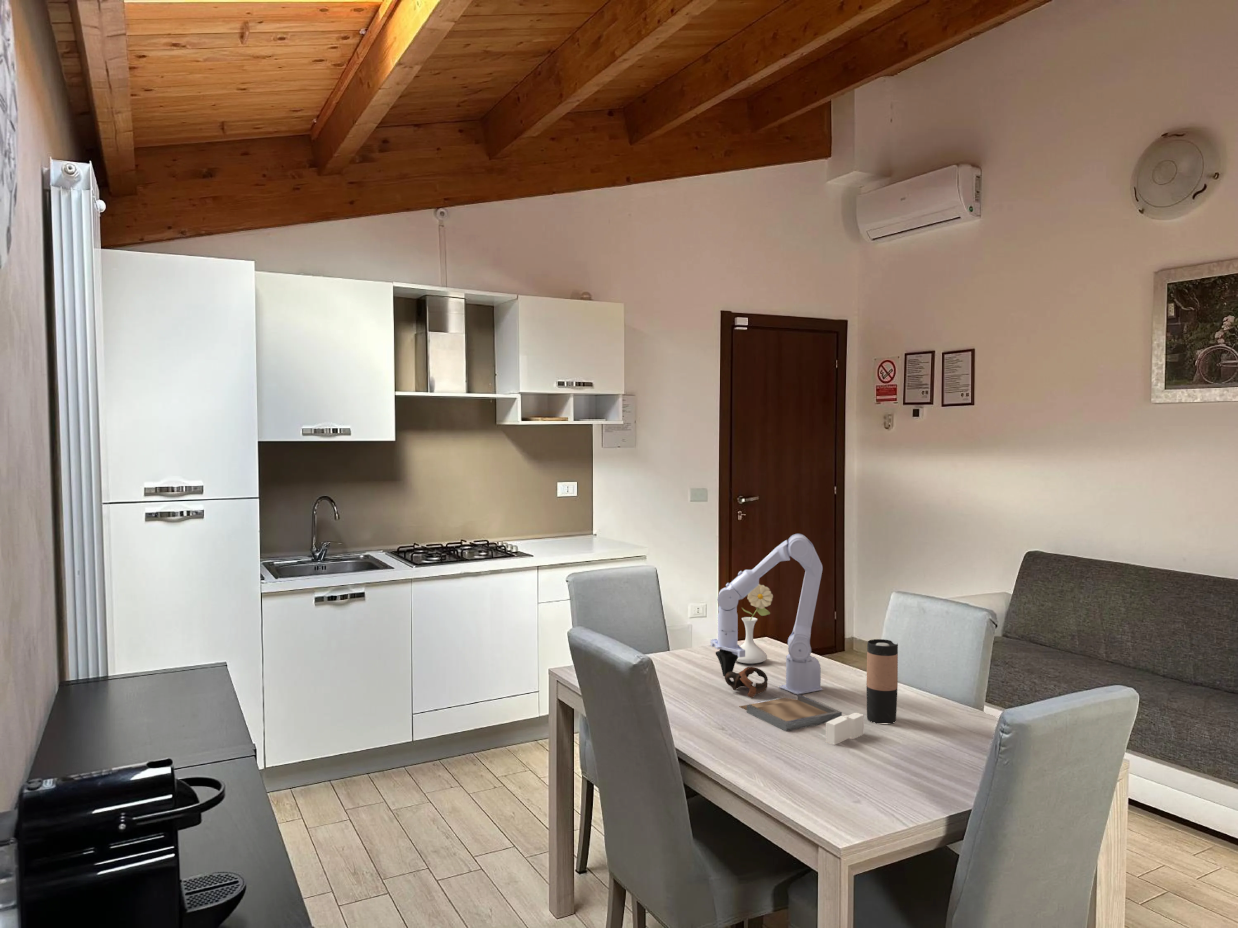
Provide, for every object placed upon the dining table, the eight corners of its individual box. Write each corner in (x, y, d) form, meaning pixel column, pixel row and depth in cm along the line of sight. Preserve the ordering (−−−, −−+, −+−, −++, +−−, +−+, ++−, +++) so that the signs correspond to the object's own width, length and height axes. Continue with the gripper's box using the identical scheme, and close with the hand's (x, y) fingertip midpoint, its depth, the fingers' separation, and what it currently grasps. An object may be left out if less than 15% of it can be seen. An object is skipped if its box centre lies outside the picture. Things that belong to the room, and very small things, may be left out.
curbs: (800, 701, 241) (800, 694, 241) (841, 719, 226) (841, 711, 226) (746, 712, 232) (746, 704, 232) (786, 731, 218) (786, 723, 218)
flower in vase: (728, 664, 278) (728, 585, 276) (734, 655, 288) (734, 579, 287) (770, 668, 274) (770, 588, 273) (774, 658, 285) (775, 581, 283)
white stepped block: (825, 750, 207) (826, 726, 206) (809, 733, 218) (810, 710, 218) (887, 747, 208) (887, 723, 208) (868, 730, 220) (868, 708, 219)
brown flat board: (785, 700, 245) (785, 694, 245) (835, 721, 227) (835, 715, 227) (738, 709, 237) (738, 703, 237) (786, 732, 219) (786, 725, 219)
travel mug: (862, 721, 225) (864, 644, 224) (869, 712, 232) (870, 637, 231) (893, 726, 221) (895, 647, 220) (899, 717, 228) (900, 640, 227)
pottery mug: (759, 688, 255) (769, 667, 251) (762, 712, 247) (772, 691, 243) (719, 678, 254) (728, 657, 250) (720, 701, 246) (730, 680, 242)
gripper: (702, 625, 259) (701, 671, 260) (731, 636, 246) (730, 684, 247) (721, 623, 262) (721, 668, 263) (751, 633, 249) (751, 681, 250)
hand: (727, 676), depth 255 cm, fingers closed
